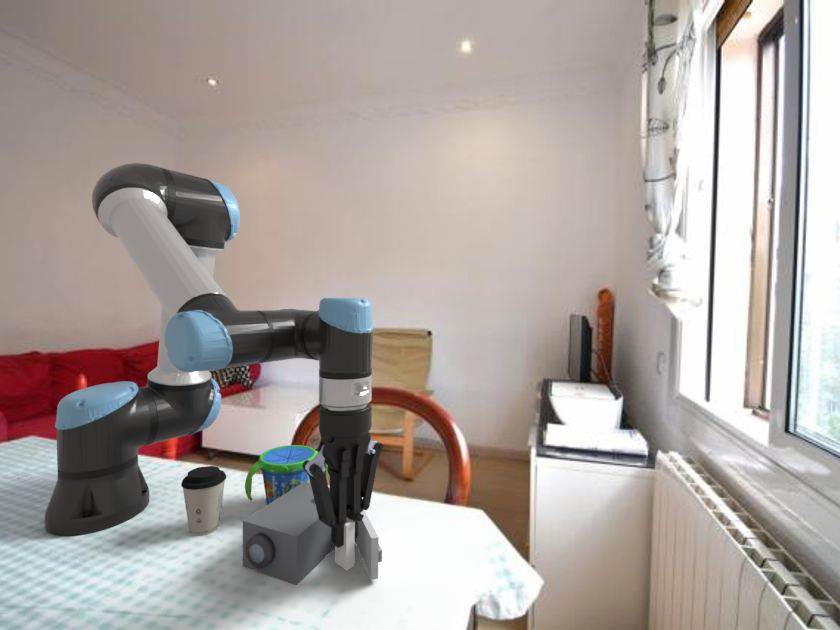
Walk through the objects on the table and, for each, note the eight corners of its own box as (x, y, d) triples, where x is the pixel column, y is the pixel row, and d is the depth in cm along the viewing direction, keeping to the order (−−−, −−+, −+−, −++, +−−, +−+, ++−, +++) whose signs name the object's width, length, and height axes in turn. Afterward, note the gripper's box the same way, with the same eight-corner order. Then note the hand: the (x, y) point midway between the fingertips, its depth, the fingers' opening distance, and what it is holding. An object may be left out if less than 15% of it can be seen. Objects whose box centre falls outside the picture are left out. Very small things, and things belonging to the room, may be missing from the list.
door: (370, 580, 56) (370, 538, 56) (349, 530, 69) (349, 496, 68) (382, 577, 57) (382, 536, 57) (359, 528, 69) (359, 494, 69)
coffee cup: (235, 521, 72) (235, 466, 72) (203, 543, 65) (203, 483, 65) (205, 514, 74) (204, 461, 74) (171, 535, 68) (170, 477, 67)
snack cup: (318, 485, 87) (318, 438, 86) (336, 506, 78) (336, 454, 77) (240, 504, 78) (240, 453, 78) (250, 530, 69) (250, 472, 69)
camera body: (235, 572, 59) (235, 520, 58) (303, 519, 73) (303, 477, 73) (290, 591, 55) (290, 536, 55) (350, 532, 69) (350, 488, 69)
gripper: (321, 418, 51) (321, 600, 51) (396, 400, 60) (394, 554, 61) (291, 407, 56) (290, 573, 56) (364, 392, 65) (363, 534, 66)
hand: (344, 563), depth 59 cm, fingers closed
